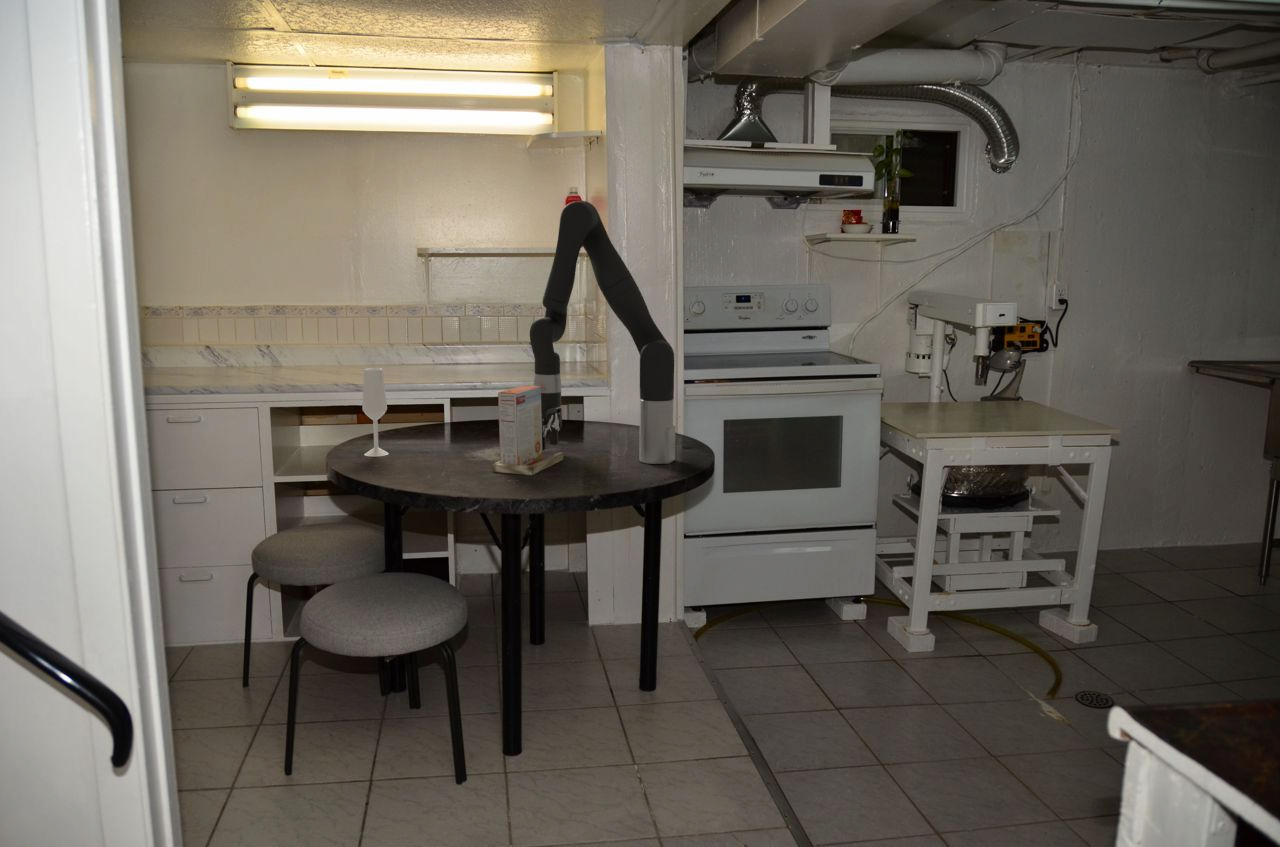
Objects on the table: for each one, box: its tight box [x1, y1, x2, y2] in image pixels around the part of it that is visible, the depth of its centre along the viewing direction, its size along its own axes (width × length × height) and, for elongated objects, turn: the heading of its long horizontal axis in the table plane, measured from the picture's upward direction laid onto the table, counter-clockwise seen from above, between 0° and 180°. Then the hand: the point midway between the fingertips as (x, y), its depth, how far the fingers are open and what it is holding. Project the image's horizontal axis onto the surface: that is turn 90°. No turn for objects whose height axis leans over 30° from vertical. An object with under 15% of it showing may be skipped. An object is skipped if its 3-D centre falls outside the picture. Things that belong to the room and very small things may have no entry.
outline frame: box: [491, 452, 564, 476], centre depth 263 cm, size 11×20×2 cm, turn 161°
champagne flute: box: [361, 367, 389, 457], centre depth 274 cm, size 7×7×24 cm
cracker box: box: [497, 385, 543, 466], centre depth 261 cm, size 14×6×21 cm, turn 159°
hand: (547, 447), depth 275 cm, fingers open, 8 cm apart
